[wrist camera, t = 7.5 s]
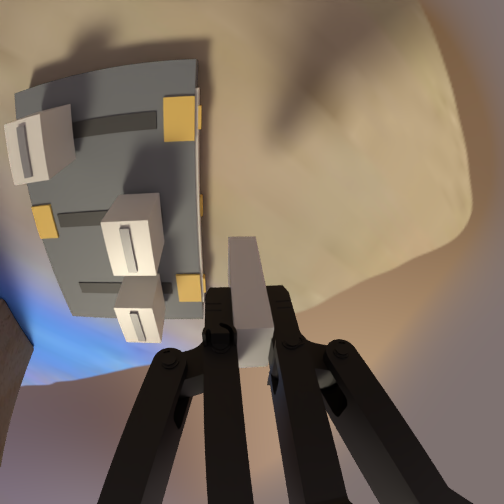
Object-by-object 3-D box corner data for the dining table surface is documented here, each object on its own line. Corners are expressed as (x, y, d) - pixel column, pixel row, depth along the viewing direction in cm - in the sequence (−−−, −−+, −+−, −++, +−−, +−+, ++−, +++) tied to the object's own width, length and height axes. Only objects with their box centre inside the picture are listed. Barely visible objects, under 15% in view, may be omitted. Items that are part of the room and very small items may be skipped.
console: (78, 302, 27) (72, 317, 25) (28, 90, 14) (13, 94, 13) (207, 304, 29) (207, 320, 27) (203, 60, 16) (202, 58, 14)
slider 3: (134, 307, 25) (126, 343, 21) (124, 273, 22) (113, 309, 19) (165, 308, 25) (160, 344, 22) (159, 273, 23) (151, 310, 19)
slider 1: (43, 164, 16) (12, 186, 13) (36, 112, 14) (2, 125, 10) (75, 158, 17) (47, 181, 13) (70, 103, 14) (37, 114, 11)
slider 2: (127, 242, 21) (112, 277, 17) (118, 194, 19) (99, 224, 15) (164, 241, 21) (156, 277, 18) (159, 192, 19) (146, 221, 16)
